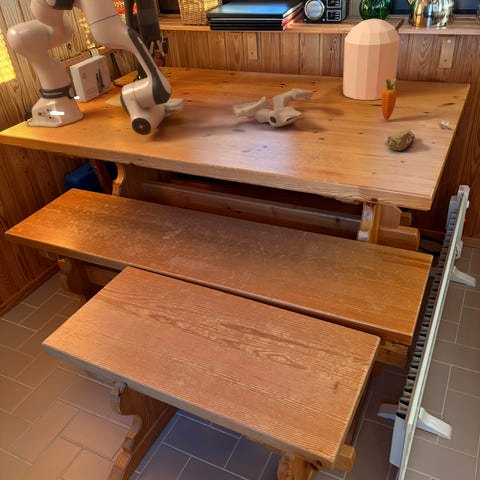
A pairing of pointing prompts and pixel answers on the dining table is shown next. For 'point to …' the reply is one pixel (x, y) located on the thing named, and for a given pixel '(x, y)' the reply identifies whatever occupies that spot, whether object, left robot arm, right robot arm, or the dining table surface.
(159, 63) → the lid
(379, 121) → the dining table surface
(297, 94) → the animal horns
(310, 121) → the dining table surface
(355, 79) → the container
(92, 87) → the skincare box
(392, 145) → the rock
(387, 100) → the carrot
